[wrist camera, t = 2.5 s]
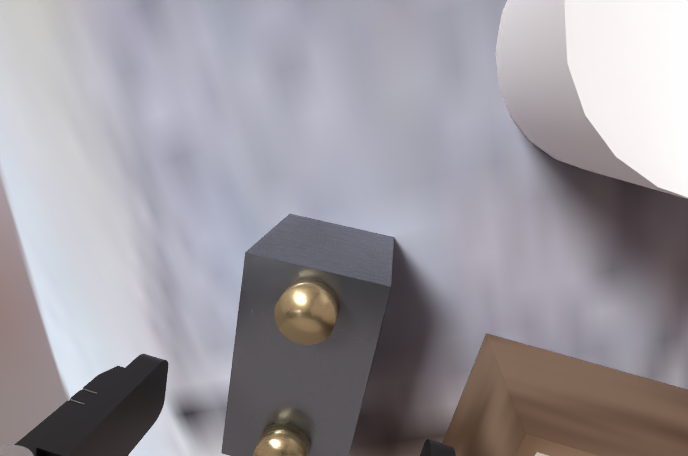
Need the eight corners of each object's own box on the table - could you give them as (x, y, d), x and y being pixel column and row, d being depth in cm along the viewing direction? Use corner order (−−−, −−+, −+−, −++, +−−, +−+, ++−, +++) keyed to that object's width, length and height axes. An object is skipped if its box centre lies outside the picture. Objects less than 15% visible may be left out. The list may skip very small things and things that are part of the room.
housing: (290, 213, 16) (234, 262, 11) (394, 236, 16) (390, 299, 11) (266, 367, 19) (211, 472, 13) (356, 391, 18) (337, 508, 13)
